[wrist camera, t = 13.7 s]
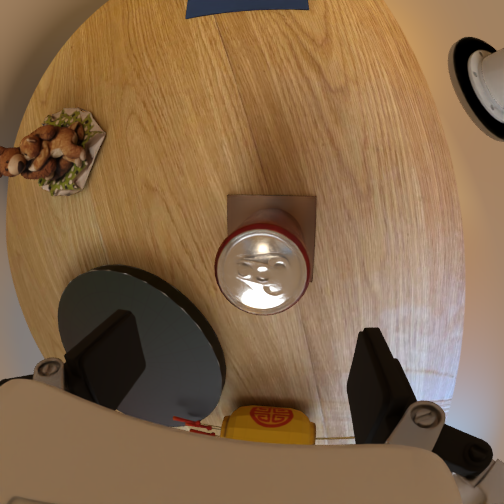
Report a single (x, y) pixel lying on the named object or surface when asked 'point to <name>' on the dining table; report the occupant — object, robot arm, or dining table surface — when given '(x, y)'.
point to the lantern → (264, 426)
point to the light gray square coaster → (294, 205)
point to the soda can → (264, 263)
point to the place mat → (239, 6)
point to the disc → (151, 341)
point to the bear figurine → (56, 152)
